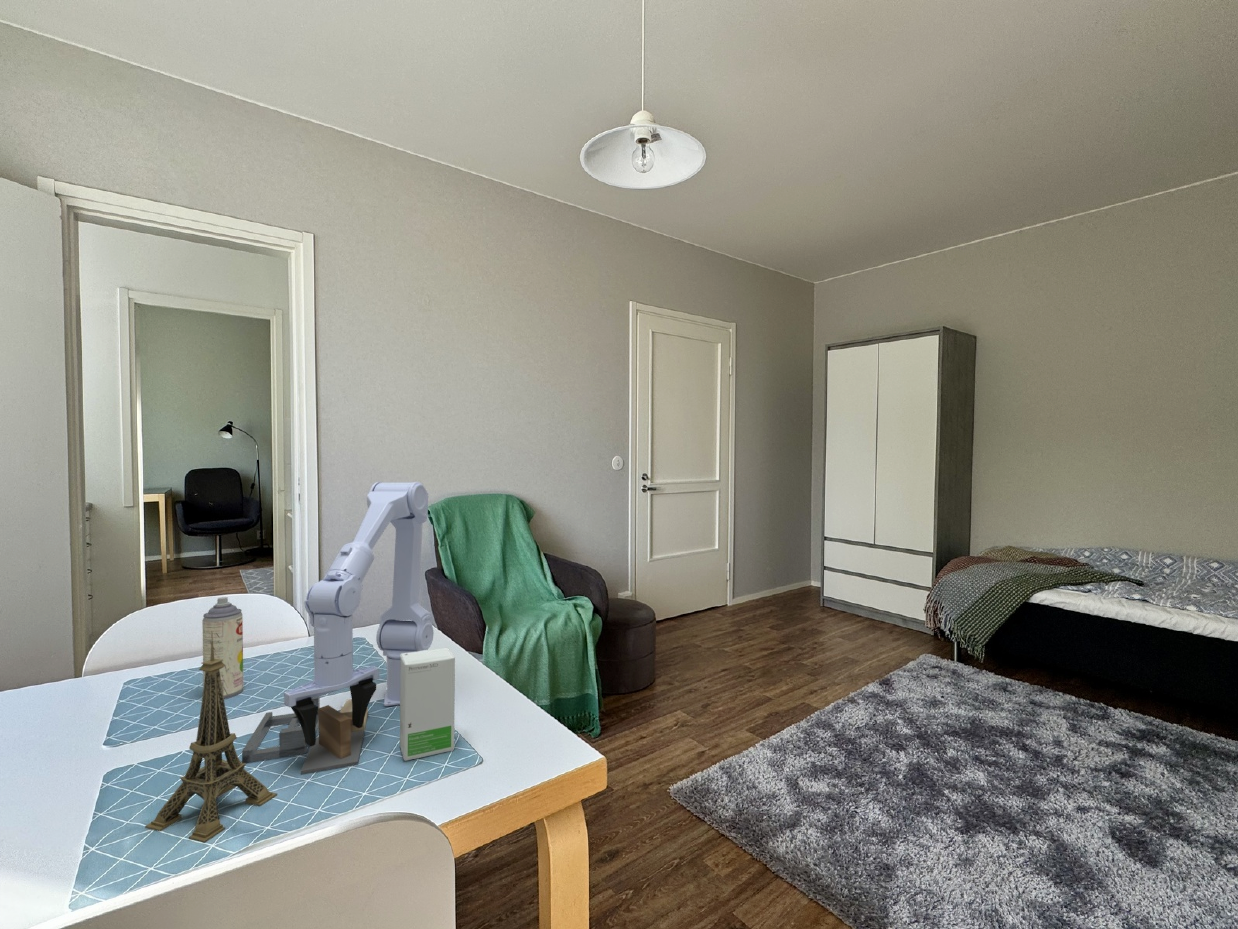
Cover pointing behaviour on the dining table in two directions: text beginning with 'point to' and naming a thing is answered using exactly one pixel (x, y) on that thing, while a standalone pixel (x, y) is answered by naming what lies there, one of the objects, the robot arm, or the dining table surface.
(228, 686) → the aerosol can
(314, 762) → the mat
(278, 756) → the rack
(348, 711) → the offcut stack
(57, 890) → the dining table surface
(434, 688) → the skincare box
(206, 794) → the eiffel tower
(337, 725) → the walnut sheet
